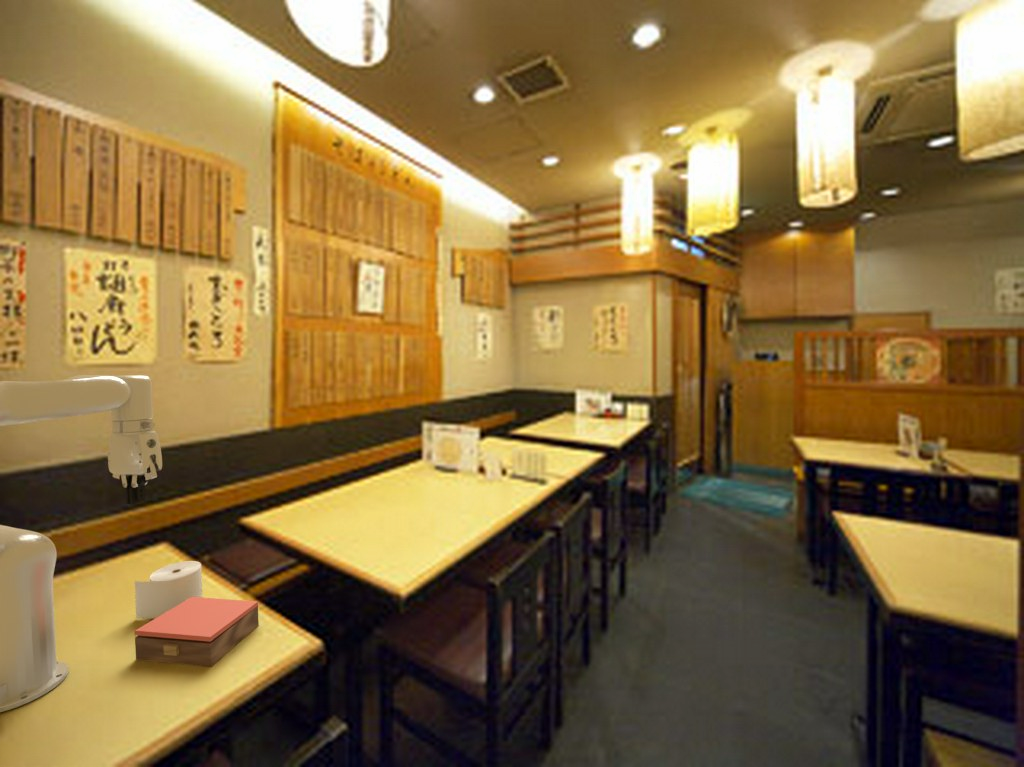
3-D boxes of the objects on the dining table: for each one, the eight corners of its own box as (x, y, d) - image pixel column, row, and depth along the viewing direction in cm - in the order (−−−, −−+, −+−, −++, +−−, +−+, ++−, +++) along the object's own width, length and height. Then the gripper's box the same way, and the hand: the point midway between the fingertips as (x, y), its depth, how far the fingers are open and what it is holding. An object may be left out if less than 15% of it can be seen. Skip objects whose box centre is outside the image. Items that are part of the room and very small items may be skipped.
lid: (210, 641, 88) (210, 636, 88) (135, 635, 90) (134, 630, 90) (258, 605, 102) (258, 601, 102) (191, 600, 104) (191, 596, 104)
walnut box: (208, 668, 88) (208, 645, 87) (133, 661, 90) (132, 639, 89) (258, 625, 102) (258, 605, 102) (192, 620, 104) (191, 600, 104)
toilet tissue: (212, 599, 114) (211, 563, 113) (165, 625, 102) (164, 586, 101) (182, 593, 116) (181, 558, 116) (134, 618, 105) (132, 580, 104)
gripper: (175, 425, 102) (178, 498, 103) (121, 424, 104) (124, 496, 104) (145, 429, 94) (148, 509, 95) (87, 428, 96) (91, 506, 97)
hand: (135, 502), depth 100 cm, fingers closed
